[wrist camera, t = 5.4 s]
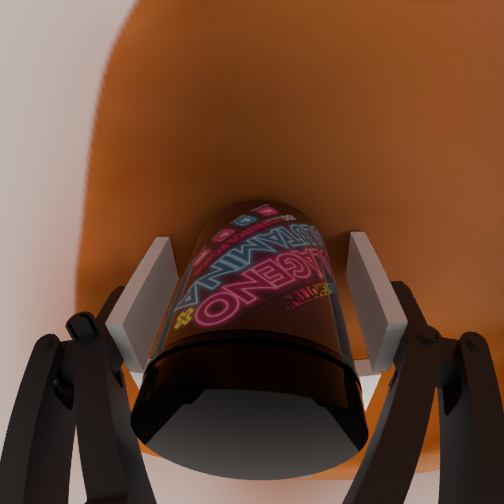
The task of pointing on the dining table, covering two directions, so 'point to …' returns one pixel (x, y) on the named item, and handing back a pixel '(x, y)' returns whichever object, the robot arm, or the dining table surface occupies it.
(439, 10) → the dining table surface
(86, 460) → the robot arm
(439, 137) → the dining table surface
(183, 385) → the supplement container
